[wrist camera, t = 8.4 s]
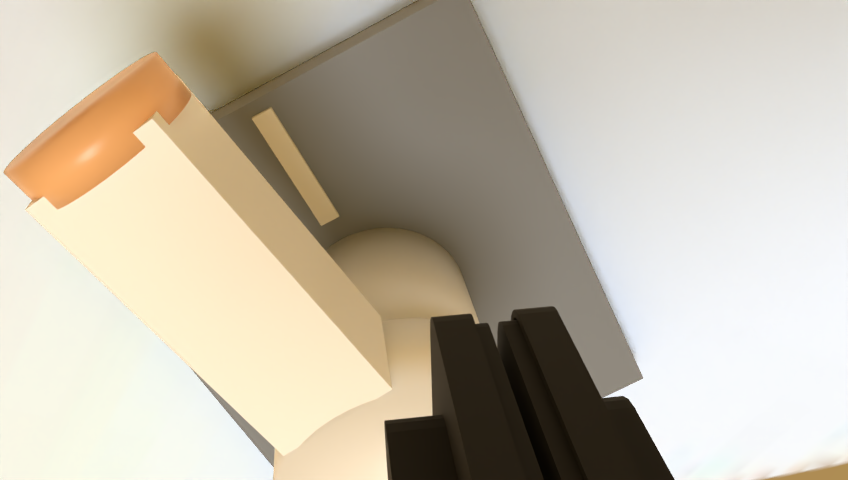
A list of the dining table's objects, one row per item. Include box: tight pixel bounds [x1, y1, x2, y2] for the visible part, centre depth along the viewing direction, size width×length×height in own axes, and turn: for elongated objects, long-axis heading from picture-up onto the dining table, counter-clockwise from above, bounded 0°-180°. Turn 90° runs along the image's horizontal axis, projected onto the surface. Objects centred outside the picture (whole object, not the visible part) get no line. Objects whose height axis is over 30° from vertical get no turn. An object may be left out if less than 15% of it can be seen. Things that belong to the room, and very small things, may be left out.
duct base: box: [189, 0, 643, 467], centre depth 30 cm, size 17×20×9 cm
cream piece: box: [4, 52, 432, 480], centre depth 22 cm, size 18×8×4 cm, turn 33°
